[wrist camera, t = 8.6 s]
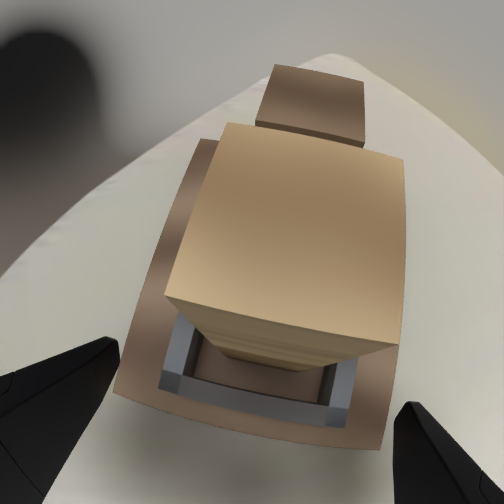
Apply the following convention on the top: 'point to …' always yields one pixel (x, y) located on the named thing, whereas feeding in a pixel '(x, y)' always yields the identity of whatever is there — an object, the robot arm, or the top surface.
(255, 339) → the beige block
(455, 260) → the top surface
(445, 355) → the top surface
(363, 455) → the top surface
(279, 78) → the wooden fixture board
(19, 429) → the robot arm
